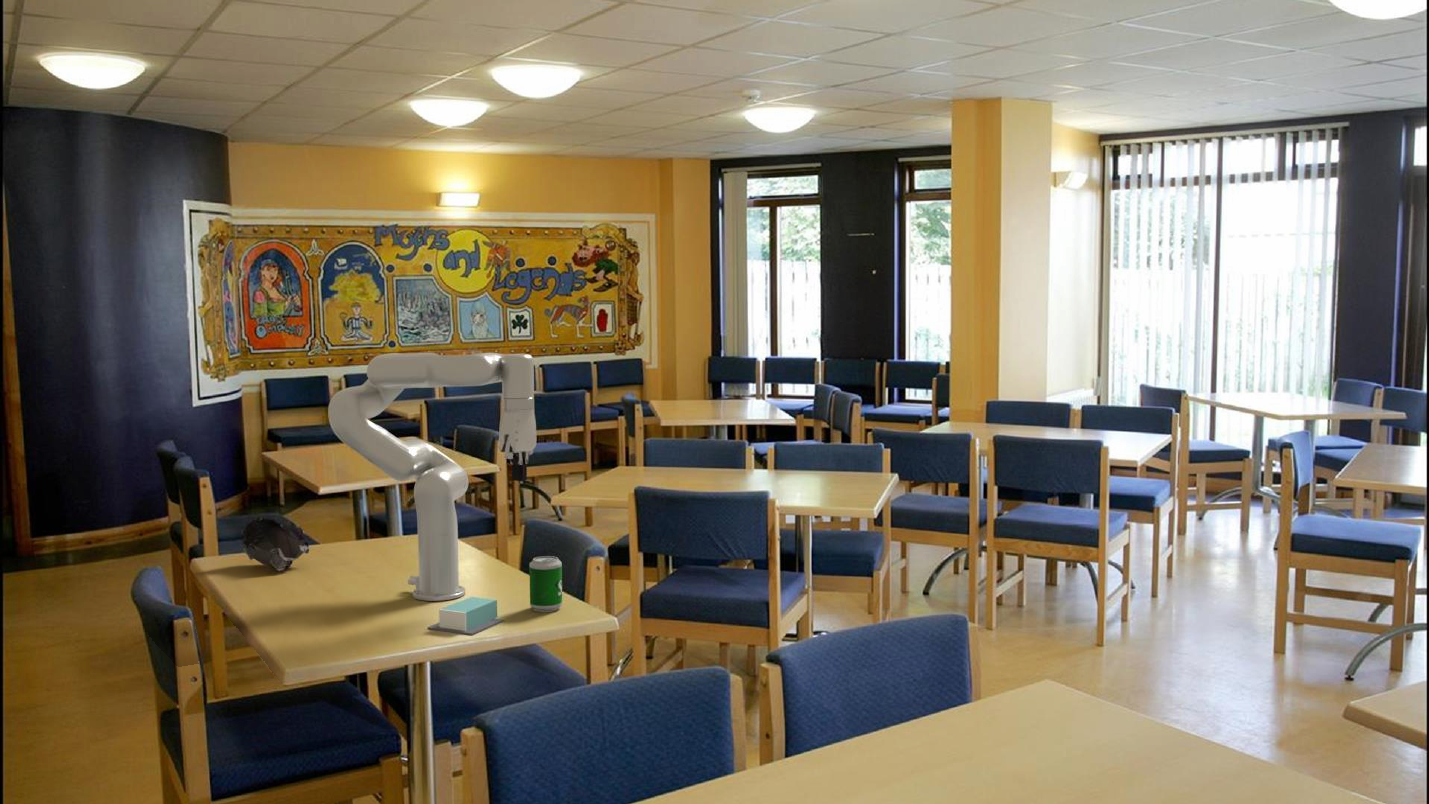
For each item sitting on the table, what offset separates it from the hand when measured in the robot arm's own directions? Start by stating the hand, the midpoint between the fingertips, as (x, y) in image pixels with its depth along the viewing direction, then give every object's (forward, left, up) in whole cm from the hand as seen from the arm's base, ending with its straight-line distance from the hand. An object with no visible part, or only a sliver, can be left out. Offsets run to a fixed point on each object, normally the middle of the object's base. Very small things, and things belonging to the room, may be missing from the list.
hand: (519, 480), depth 276 cm
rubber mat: (+2, -25, -29) cm, 38 cm away
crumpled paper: (-81, 0, -29) cm, 86 cm away
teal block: (+2, -18, -27) cm, 32 cm away
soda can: (+11, -6, -29) cm, 32 cm away
